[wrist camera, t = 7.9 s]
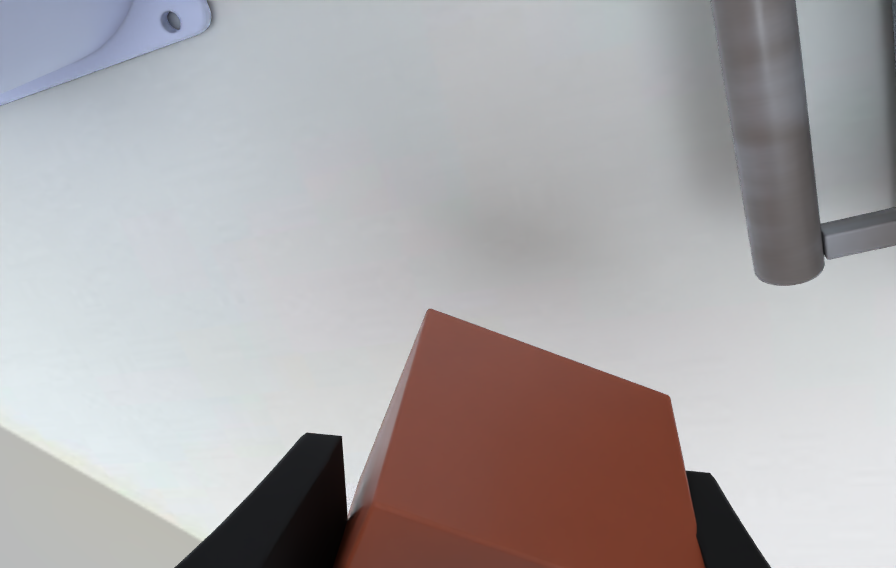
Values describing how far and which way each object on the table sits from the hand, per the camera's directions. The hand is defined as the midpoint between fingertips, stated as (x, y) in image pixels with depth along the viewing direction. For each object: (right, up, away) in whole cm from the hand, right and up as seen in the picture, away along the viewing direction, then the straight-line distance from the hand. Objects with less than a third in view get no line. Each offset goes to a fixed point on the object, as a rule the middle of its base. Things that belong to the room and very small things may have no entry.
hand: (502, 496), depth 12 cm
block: (0, +1, +1) cm, 1 cm away
